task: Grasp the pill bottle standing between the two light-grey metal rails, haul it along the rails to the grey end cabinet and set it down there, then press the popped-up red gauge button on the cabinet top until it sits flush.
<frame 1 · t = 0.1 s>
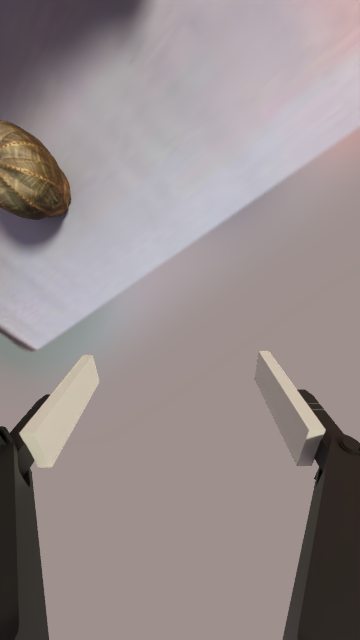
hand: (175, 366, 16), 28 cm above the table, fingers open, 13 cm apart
shell: (51, 186, 35), on the table
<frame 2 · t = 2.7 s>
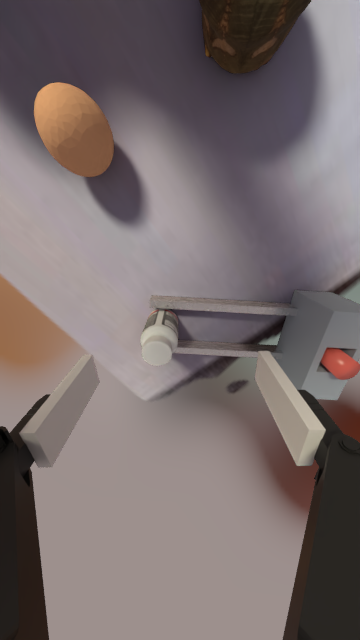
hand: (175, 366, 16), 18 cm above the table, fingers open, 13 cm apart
rails: (217, 324, 34), on the table
shell: (240, 11, 20), on the table
egg: (95, 151, 24), on the table
pill bottle: (163, 321, 34), on the table
cabinet: (299, 329, 34), on the table
gauge button: (331, 357, 27), point 8 cm above the table, slide at 0.0 cm
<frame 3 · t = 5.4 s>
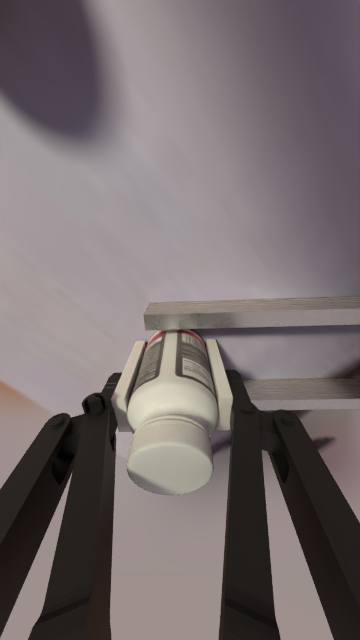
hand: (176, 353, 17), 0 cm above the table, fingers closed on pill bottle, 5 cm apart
rails: (282, 348, 17), on the table
pill bottle: (176, 350, 18), on the table, touching gripper
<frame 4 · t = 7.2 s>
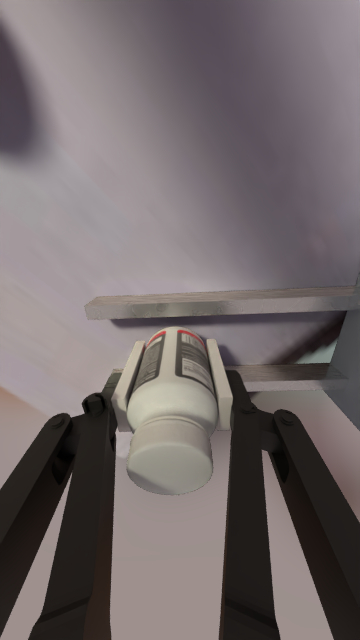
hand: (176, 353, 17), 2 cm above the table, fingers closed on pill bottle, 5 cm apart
rails: (221, 337, 19), on the table
pill bottle: (176, 350, 18), point 2 cm above the table, touching gripper
when the fingers open (0 cm above the table, at t = 9.0 s): pill bottle stays where it is, on the table.
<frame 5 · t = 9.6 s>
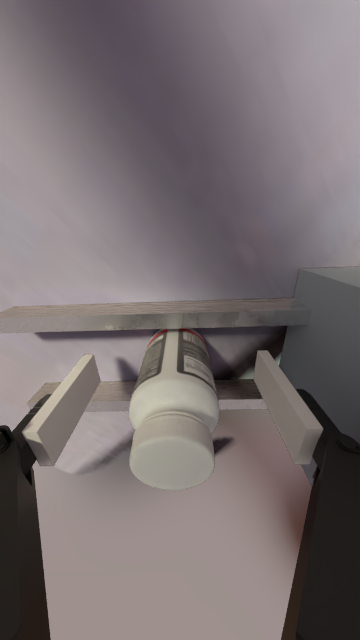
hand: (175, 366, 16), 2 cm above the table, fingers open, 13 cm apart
rails: (155, 351, 18), on the table
pill bottle: (177, 348, 18), on the table
cabinet: (317, 347, 17), on the table
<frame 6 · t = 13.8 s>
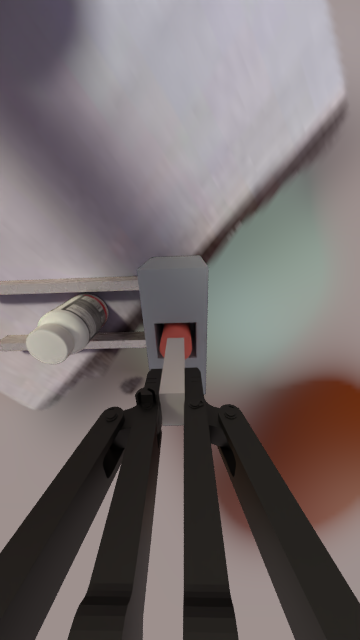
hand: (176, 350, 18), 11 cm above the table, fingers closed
rails: (76, 311, 28), on the table
pill bottle: (91, 310, 28), on the table
cabinet: (178, 308, 27), on the table
gauge button: (176, 334, 20), point 8 cm above the table, slide at 0.7 cm, touching gripper
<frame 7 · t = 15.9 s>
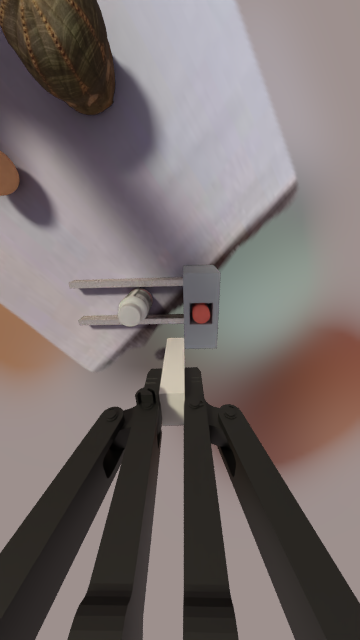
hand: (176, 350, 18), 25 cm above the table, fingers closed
rails: (131, 300, 43), on the table
shell: (85, 75, 29), on the table
egg: (11, 177, 34), on the table
pill bottle: (141, 299, 43), on the table
cabinet: (198, 298, 42), on the table
gauge button: (200, 309, 36), point 7 cm above the table, slide at 1.3 cm
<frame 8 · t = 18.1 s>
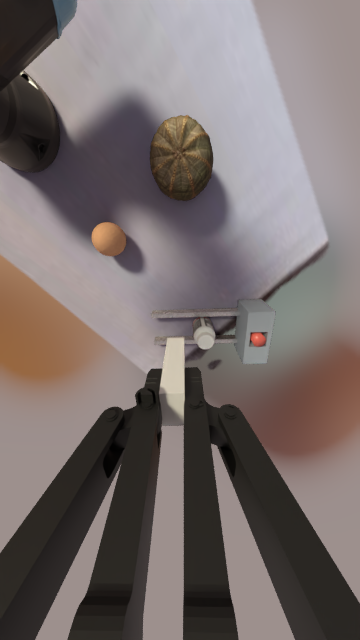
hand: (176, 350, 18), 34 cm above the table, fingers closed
rails: (194, 324, 55), on the table
shell: (181, 173, 41), on the table
egg: (116, 239, 46), on the table
pill bottle: (202, 324, 55), on the table
cabinet: (246, 323, 54), on the table
gauge button: (255, 335, 48), point 7 cm above the table, slide at 1.3 cm
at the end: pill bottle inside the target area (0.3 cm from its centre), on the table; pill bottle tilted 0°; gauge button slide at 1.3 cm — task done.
